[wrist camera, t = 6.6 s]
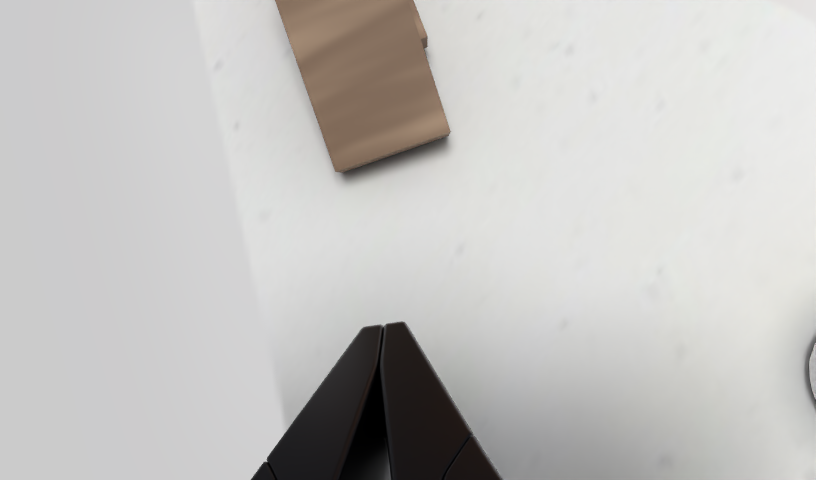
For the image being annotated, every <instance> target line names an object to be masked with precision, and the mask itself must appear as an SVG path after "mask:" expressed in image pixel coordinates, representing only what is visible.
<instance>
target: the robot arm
mask: <svg viewBox="0 0 816 480" xmlns="http://www.w3.org/2000/svg"><path fill="white" fill-rule="evenodd" d="M251 480H503V479H502V478H501V476H500V475H499V473H498V472H497V470H496V469H495V467H494V466H493V464H492V463H491V461H490V459H489V458H488V456H487V455H486V453H485V452H484V450H483V449H482V447H481V445H480V444H479V442H478V440H477V439H476V437H475V436H473V433H472V431H471V429H470V428H469V426H468V424H467V423H466V421H465V419H464V418H463V416H462V415H461V413H460V411H459V410H458V408H457V406H456V405H455V403H454V401H453V400H452V398H451V396H450V395H449V393H448V392H447V390H446V388H445V387H444V385H443V383H442V382H441V380H440V378H439V377H438V375H437V373H436V372H435V370H434V369H433V367H432V365H431V364H430V362H429V360H428V359H427V357H426V355H425V354H424V352H423V350H422V349H421V347H420V345H419V344H418V342H417V341H416V339H415V337H414V336H413V334H412V332H411V331H410V329H409V327H408V326H407V324H406V323H405V322H395V323H388V324H386V325H385V326H383V325H374V326H367V327H363V328H362V329H361V330H360V332H359V333H358V334H357V336H356V337H355V338H354V340H353V341H352V343H351V344H350V345H349V347H348V348H347V349H346V351H345V352H344V353H343V355H342V356H341V358H340V359H339V360H338V362H337V363H336V364H335V366H334V367H333V369H332V370H331V371H330V373H329V374H328V375H327V377H326V378H325V379H324V381H323V382H322V384H321V385H320V386H319V388H318V389H317V390H316V392H315V393H314V394H313V396H312V397H311V399H310V400H309V401H308V403H307V404H306V405H305V407H304V408H303V410H302V411H301V412H300V414H299V415H298V416H297V418H296V419H295V420H294V422H293V423H292V425H291V426H290V427H289V429H288V430H287V431H286V433H285V434H284V435H283V437H282V438H281V440H280V441H279V442H278V444H277V445H276V446H275V448H274V449H273V451H272V452H271V453H270V455H269V456H268V457H267V462H264V463H263V464H262V465H261V467H260V468H259V469H258V471H257V472H256V474H255V475H254V476H253V478H252V479H251Z"/></svg>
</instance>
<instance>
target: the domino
mask: <svg viewBox="0 0 816 480" xmlns="http://www.w3.org/2000/svg"><path fill="white" fill-rule="evenodd" d="M275 1H276V4H277V7H278V10H279V12H280V15H281V18H282V21H283V24H284V27H285V30H286V32H287V35H288V38H289V41H290V44H291V47H292V49H293V52H294V55H295V58H296V61H297V64H298V66H299V69H300V72H301V75H302V78H303V81H304V84H305V86H306V89H307V92H308V95H309V98H310V101H311V103H312V106H313V109H314V112H315V115H316V118H317V120H318V123H319V126H320V129H321V132H322V135H323V138H324V140H325V143H326V146H327V149H328V152H329V155H330V157H331V160H332V163H333V166H334V169H335V172H341V173H343V172H345V171H348V170H351V169H354V168H357V167H360V166H363V165H366V164H368V163H371V162H374V161H377V160H380V159H383V158H386V157H389V156H392V155H394V154H397V153H400V152H403V151H406V150H409V149H412V148H415V147H417V146H420V145H423V144H426V143H429V142H432V141H435V140H438V139H440V138H443V137H446V136H449V134H450V129H449V126H448V123H447V120H446V116H445V113H444V110H443V107H442V104H441V101H440V98H439V95H438V92H437V89H436V86H435V82H434V79H433V76H432V73H431V70H430V67H429V64H428V61H427V58H426V55H425V51H424V48H423V45H422V42H421V39H420V36H419V33H418V30H417V27H416V24H415V21H414V17H413V14H412V11H411V8H410V5H409V2H408V0H275Z"/></svg>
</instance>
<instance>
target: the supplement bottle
mask: <svg viewBox="0 0 816 480" xmlns="http://www.w3.org/2000/svg"><path fill="white" fill-rule="evenodd" d="M809 374H810V382H811V387H812V391H813V394H814V397H815V399H816V343H815V345H814V348H813V351H812V354H811V357H810V361H809Z"/></svg>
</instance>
